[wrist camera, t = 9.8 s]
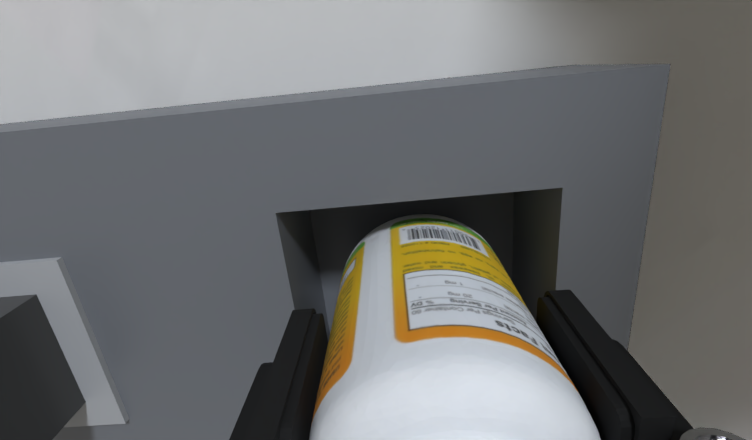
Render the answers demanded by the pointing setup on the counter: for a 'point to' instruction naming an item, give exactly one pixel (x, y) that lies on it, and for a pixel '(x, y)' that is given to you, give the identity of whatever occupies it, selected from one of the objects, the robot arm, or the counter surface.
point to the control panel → (292, 228)
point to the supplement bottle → (439, 346)
